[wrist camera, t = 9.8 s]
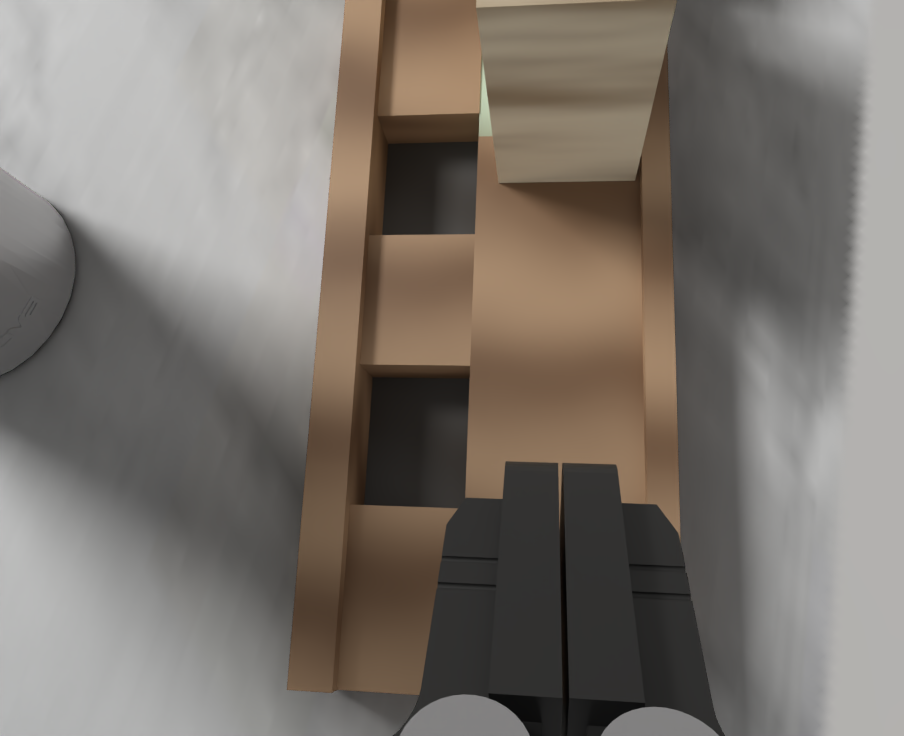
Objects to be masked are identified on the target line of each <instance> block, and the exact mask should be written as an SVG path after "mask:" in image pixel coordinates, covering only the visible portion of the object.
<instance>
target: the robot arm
mask: <svg viewBox="0 0 904 736" xmlns="http://www.w3.org/2000/svg"><path fill="white" fill-rule="evenodd" d="M74 278H75V251H74V247H73V242H72V238H71V234H70V232H69V230H68V228H67V226H66V224H65V222H64V220H63V218H62V216H61V215H60V214H59V213H58V212H57V211H56V209H55V208H54V207H53V206H52V205H51V204H50V203H49V202H48V201H46V200H45V199H44V198H42V197H41V196H40V195H38V194H37V193H35V192H34V191H33V190H31V189H30V188H28V187H27V186H26V185H24V184H23V183H21V182H20V181H19V180H17V179H16V178H14V177H13V176H12V175H10V174H9V173H7V172H6V171H5V170H3V169H2V168H0V375H2V374H4V373H6V372H8V371H11V370H13V369H14V368H15V367H17V366H18V365H20V364H21V363H22V362H24V361H25V360H26V359H28V358H29V357H30V356H32V355H33V354H34V353H35V352H36V351H37V350H38V349H39V347H40V346H41V345H42V344H43V343H44V342H45V341H46V340H47V339H48V338H49V337H50V335H51V333H52V332H53V330H54V329H55V327H56V326H57V324H58V323H59V321H60V320H61V318H62V316H63V314H64V311H65V309H66V306H67V304H68V302H69V299H70V297H71V292H72V288H73V283H74ZM690 596H691V593H690V588H689V583H688V578H687V573H685V563H684V558H683V553H682V548H681V543H680V538H679V533H678V532H677V531H676V529H675V528H674V527H673V525H672V524H671V523H670V521H669V520H668V519H667V517H666V516H665V515H664V513H663V512H662V511H661V509H660V508H659V507H658V505H657V504H634V503H622V502H621V494H620V485H619V477H618V469H617V466H616V464H588V463H562V479H561V504H560V529H559V477H558V463H548V462H516V461H506V462H505V472H504V486H503V499H490V498H465V500H464V501H463V502H462V504H461V505H460V506H459V508H458V509H457V511H456V512H455V513H454V515H453V516H452V517H451V519H450V520H449V521H448V523H447V524H446V531H445V537H444V544H443V550H442V560H441V563H440V569H439V576H438V586H437V589H436V595H435V601H434V608H433V614H432V620H431V627H430V633H429V640H428V646H427V652H426V659H425V665H424V672H423V678H422V685H421V690H420V694H419V698H418V701H417V703H416V706H415V708H414V710H413V712H412V714H411V715H410V717H409V719H408V720H407V721H406V723H405V724H404V725H403V726H402V727H401V729H400V730H399V731H398V732H397V733H396V734H394V735H393V736H725V735H724V733H723V732H722V730H721V728H720V725H719V723H718V721H717V719H716V715H715V712H714V708H713V704H712V699H711V694H710V689H709V684H708V679H707V674H706V669H705V664H704V659H703V654H702V648H701V643H700V638H699V633H698V628H697V623H696V618H695V613H694V608H693V603H692V601H691V598H690Z"/></svg>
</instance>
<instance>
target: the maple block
mask: <svg viewBox="0 0 904 736" xmlns="http://www.w3.org/2000/svg"><path fill="white" fill-rule="evenodd" d="M676 3H677V0H476V11H477V19H478V27H479V34H480V42H481V50H482V58H483V65H484V73H485V81H486V89H487V97H488V104H489V112H490V120H491V128H492V136H493V143H494V151H495V159H496V167H497V175H498V182H499V183H526V182H588V181H635V179H636V175H637V170H638V166H639V162H640V157H641V153H642V149H643V144H644V140H645V136H646V132H647V127H648V123H649V119H650V114H651V110H652V106H653V101H654V97H655V93H656V89H657V84H658V80H659V76H660V71H661V67H662V63H663V59H664V54H665V50H666V46H667V41H668V37H669V33H670V28H671V24H672V20H673V16H674V11H675V7H676Z"/></svg>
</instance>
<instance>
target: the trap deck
mask: <svg viewBox="0 0 904 736" xmlns="http://www.w3.org/2000/svg"><path fill="white" fill-rule="evenodd" d="M506 461H516V462H548V463H558V477H559V529H560V504H561V479H562V463H588V464H616V466H617V469H618V477H619V485H620V494H621V502H622V503H634V504H657V505H658V507H659V508H660V509H661V511H662V512H663V513H664V515H665V516H666V517H667V519H668V520H669V521H670V523H671V524H672V525H673V527H674V528H675V529H676V531H677V532H678V533H679V538H680V503H679V465H678V428H677V390H676V353H675V315H674V278H673V240H672V203H671V165H670V128H669V90H668V53H667V46H666V50H665V54H664V59H663V63H662V67H661V71H660V76H659V80H658V84H657V89H656V93H655V97H654V101H653V106H652V110H651V114H650V119H649V123H648V127H647V132H646V136H645V140H644V144H643V149H642V153H641V157H640V162H639V166H638V170H637V175H636V179H635V181H588V182H526V183H499V182H498V175H497V167H496V159H495V151H494V143H493V136H492V128H491V120H490V112H489V104H488V97H487V89H486V81H485V73H484V65H483V58H482V50H481V42H480V34H479V27H478V19H477V11H476V0H345V9H344V21H343V33H342V45H341V57H340V68H339V80H338V92H337V104H336V116H335V127H334V139H333V151H332V163H331V175H330V186H329V198H328V210H327V222H326V234H325V245H324V257H323V269H322V281H321V293H320V304H319V316H318V328H317V340H316V352H315V363H314V375H313V387H312V399H311V411H310V422H309V434H308V446H307V458H306V470H305V481H304V493H303V505H302V517H301V529H300V540H299V552H298V564H297V576H296V588H295V599H294V611H293V623H292V635H291V647H290V659H289V670H288V682H287V690H296V691H311V692H326V693H333V692H334V691H336V690H349V691H364V692H379V693H394V694H409V695H419V694H420V690H421V685H422V678H423V672H424V665H425V659H426V652H427V646H428V640H429V633H430V627H431V620H432V614H433V608H434V601H435V595H436V589H437V586H438V576H439V569H440V563H441V560H442V550H443V544H444V537H445V531H446V524H447V523H448V521H449V520H450V519H451V517H452V516H453V515H454V513H455V512H456V511H457V509H458V508H459V506H460V505H461V504H462V502H463V501H464V500H465V498H490V499H503V486H504V472H505V462H506ZM680 543H681V540H680Z"/></svg>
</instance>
